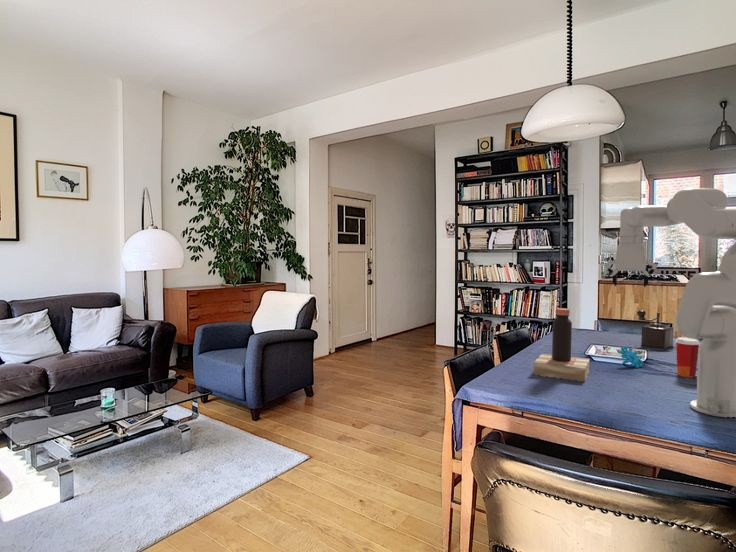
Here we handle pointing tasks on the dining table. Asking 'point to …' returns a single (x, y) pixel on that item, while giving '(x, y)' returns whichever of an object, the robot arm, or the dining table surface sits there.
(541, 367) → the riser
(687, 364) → the paper cup
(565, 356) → the vinegar
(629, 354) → the blue lumpy piece
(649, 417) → the dining table surface
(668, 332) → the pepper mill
